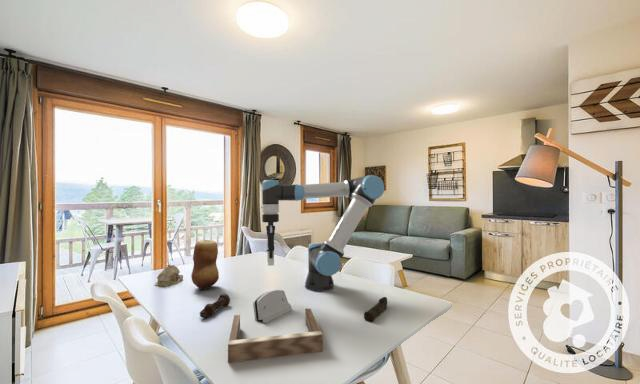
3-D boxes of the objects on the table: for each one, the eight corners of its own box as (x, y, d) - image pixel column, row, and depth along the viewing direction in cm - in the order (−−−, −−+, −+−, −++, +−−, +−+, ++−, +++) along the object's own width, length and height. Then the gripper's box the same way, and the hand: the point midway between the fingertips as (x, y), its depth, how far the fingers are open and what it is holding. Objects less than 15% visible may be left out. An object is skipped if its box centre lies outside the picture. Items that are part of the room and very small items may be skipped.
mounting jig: (310, 321, 108) (310, 307, 108) (322, 351, 87) (322, 333, 87) (234, 329, 102) (234, 314, 102) (227, 362, 81) (227, 344, 81)
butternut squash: (221, 289, 146) (221, 240, 146) (193, 294, 138) (193, 243, 139) (214, 282, 157) (214, 237, 158) (188, 287, 150) (188, 239, 150)
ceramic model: (167, 287, 150) (167, 268, 150) (150, 285, 153) (150, 267, 153) (186, 279, 163) (186, 262, 163) (170, 278, 166) (170, 261, 166)
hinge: (263, 323, 106) (257, 296, 108) (255, 324, 109) (249, 298, 111) (292, 308, 120) (286, 285, 122) (284, 310, 123) (278, 287, 125)
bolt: (200, 324, 110) (223, 308, 125) (210, 319, 109) (232, 303, 124) (194, 310, 111) (217, 296, 126) (203, 305, 110) (226, 291, 124)
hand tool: (372, 323, 106) (372, 311, 106) (363, 321, 109) (363, 308, 109) (392, 308, 122) (392, 297, 122) (384, 305, 124) (384, 295, 124)
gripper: (262, 212, 139) (262, 259, 139) (262, 214, 121) (262, 269, 121) (277, 212, 141) (277, 258, 140) (280, 214, 123) (280, 268, 122)
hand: (270, 263), depth 131 cm, fingers open, 6 cm apart
